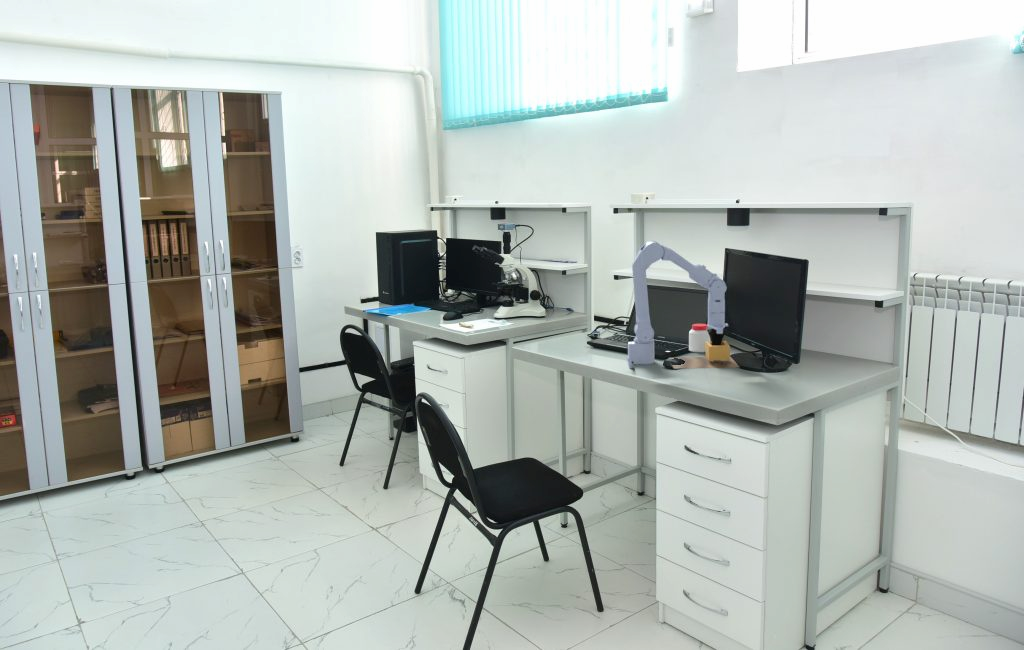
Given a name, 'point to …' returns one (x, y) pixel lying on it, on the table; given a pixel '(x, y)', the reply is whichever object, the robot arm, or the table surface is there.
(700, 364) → the keeper board
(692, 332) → the pill bottle
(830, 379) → the table surface
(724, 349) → the orange open box
